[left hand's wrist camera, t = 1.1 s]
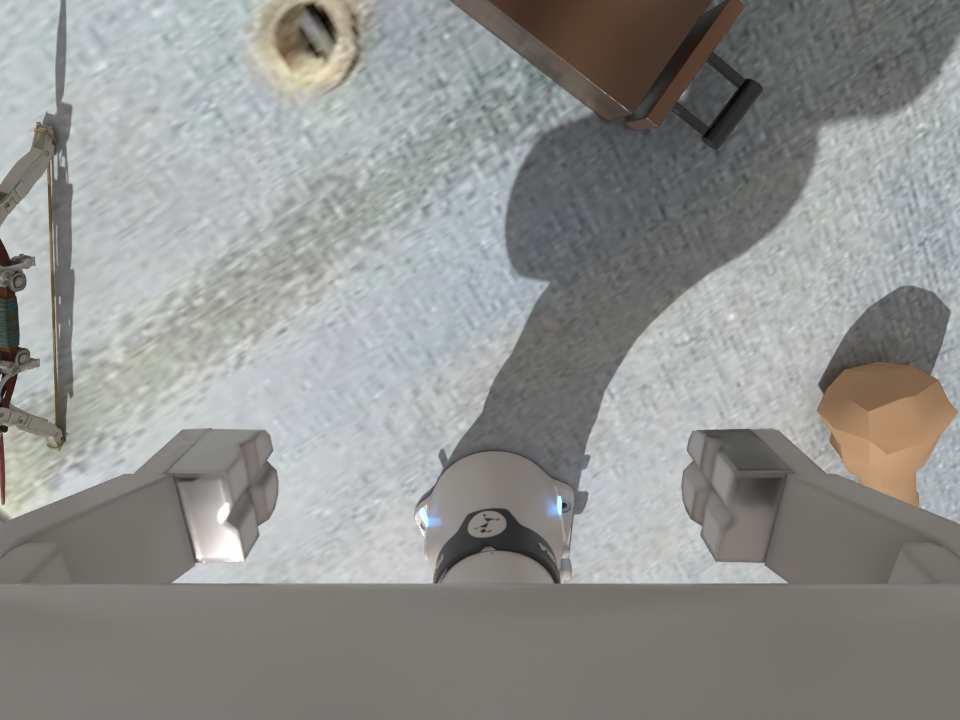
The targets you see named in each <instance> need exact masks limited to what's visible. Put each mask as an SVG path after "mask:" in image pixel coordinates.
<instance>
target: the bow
mask: <svg viewBox="0 0 960 720" xmlns="http://www.w3.org/2000/svg"><path fill="white" fill-rule="evenodd" d="M34 132H35V134H34V138H33V143H32V147H31V150H30V152H28V153H27V154H26V155H25V156H24V157H22V158H21V159H20V160H19V161H18V162H17V163H16V164H15V165H14V167H13V168H12V169H11V171H10V172H9V173H8V175H7V176H6V177H5V179H4V180H3V182H2V183H1V185H0V226H1V224H2V223H3V221H4V220H5V218H6V217H7V215H8V214H10V212H11V211H12V210H13V209H14V208H15V206H16V204H18V203H19V202H20V201H21V200H22V199H23V198H24V197H25V196H26V195H27V194H28V193H29V191H30V190H31V188H32V187H33V185H34V184H35V182H36V181H37V180H38V179H39V178H40V177H41V176H42V175H43V173H44V171H45V170H46V168H47V172H48V202H49V232H50V262H51V292H52V322H53V352H54V382H55V412H56V425H54V424H53V423H51V422H48V420H47V419H44V418H40V417H36V416H34V415H31V414H28V413H26V412H24V411H22V410H21V409H19V408H17V407H15V406H13V405H12V404H11V403H10V400H11V397H12V394H13V391H14V387H15V383H16V380H17V376H18V373H19V372H22V371H24V370H26V369H33V368H34V367H39V366H40V364H39V362H40V359H34V358H30V352H29V350H28V349H26V348H20V347H18V345H19V335H20V334H19V319H18V305H17V298H16V296H15V292H17V291H21V290H23V289H24V288H25V286H26V276H25V274H24V273H23V271H22V270H21V269H24V268H26V269H28V268H30V267H31V266H35V257H31V256H27V255H24V254H20V255H19V256H15V257H13V258H12V259H11V260H10V258H9V256H8V253H7V251H6V249H5V247H4V245H3V243H2V241H1V239H0V374H2V379H1V382H0V486H1V500H2V497H3V501H2V506H3V505H4V504H5V461H4V445H3V433H1V432H4V433H5V432H7V431H8V427H10V426H14V427H15V428H17V429H19V430H21V431H23V432H26V433H28V434H31V435H35V436H39V437H45V440H46V442H47V446H48V447H49V450H50V449H53V450H58V452H59V451H60V450H61V447H62V446H63V443H64V439H63V434H62V430H61V429H59V428H58V400H57V368H56V336H55V305H54V273H53V241H52V209H51V177H50V160H51V159H52V157H53V155H54V148H55V143H56V140H55V136H54V130H53V129H52V126H51V125H43V124H41V123H40V122H37V125H36V128H35V129H34ZM5 391H6V393H5ZM4 394H5V397H4V398H3V396H4Z"/></svg>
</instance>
